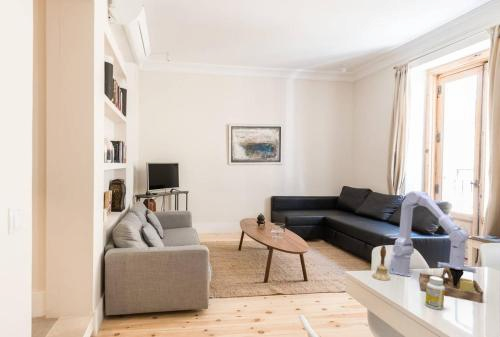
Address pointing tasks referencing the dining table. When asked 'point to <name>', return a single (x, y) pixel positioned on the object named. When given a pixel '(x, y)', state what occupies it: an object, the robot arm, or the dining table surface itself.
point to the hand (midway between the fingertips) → (455, 285)
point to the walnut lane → (454, 288)
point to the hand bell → (382, 267)
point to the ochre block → (465, 284)
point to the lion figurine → (446, 270)
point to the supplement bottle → (435, 293)
